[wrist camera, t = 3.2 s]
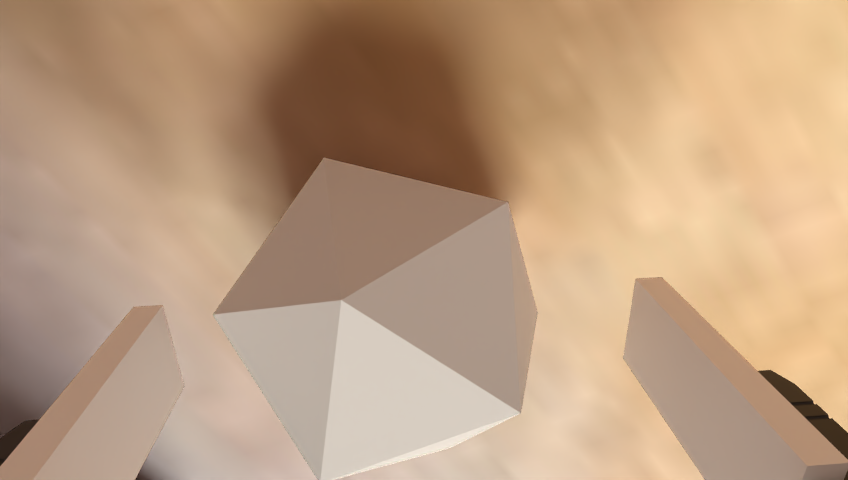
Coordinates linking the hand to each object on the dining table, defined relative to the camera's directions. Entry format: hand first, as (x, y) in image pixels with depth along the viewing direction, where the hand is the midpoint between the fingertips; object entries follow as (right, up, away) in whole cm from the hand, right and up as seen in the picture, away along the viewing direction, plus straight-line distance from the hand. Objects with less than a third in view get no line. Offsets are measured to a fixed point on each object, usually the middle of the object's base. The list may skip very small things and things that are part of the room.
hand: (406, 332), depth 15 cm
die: (-1, +2, +5) cm, 5 cm away
